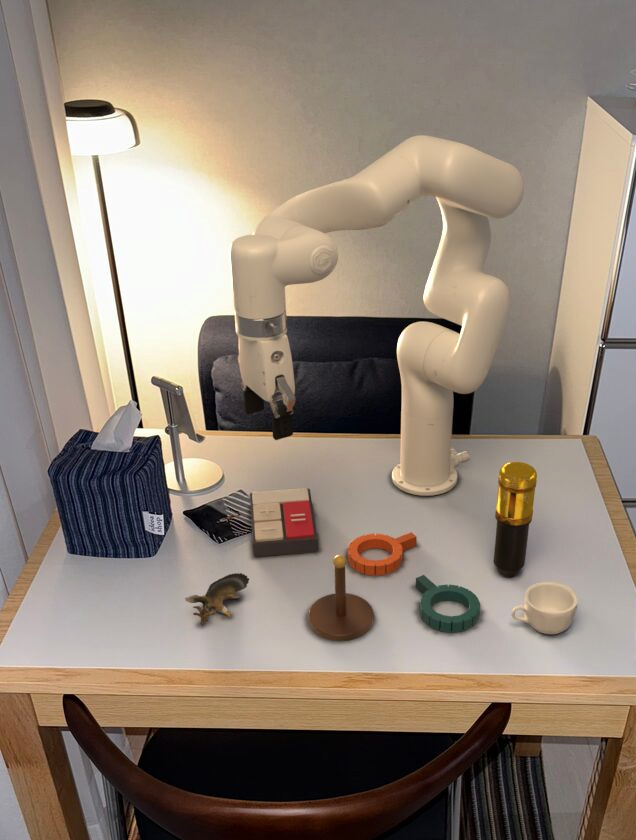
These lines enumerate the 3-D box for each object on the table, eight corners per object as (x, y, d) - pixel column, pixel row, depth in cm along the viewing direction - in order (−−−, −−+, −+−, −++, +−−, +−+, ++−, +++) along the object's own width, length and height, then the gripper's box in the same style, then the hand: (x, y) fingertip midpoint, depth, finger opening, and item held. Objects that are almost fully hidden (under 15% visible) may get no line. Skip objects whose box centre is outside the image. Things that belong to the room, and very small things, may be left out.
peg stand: (351, 590, 147) (350, 529, 140) (385, 625, 140) (386, 562, 133) (297, 613, 142) (293, 550, 136) (330, 650, 135) (328, 585, 129)
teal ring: (491, 618, 141) (492, 608, 140) (443, 640, 137) (444, 630, 136) (442, 576, 150) (442, 566, 149) (396, 595, 146) (396, 586, 145)
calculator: (252, 540, 152) (249, 488, 165) (254, 560, 155) (250, 507, 167) (317, 535, 154) (309, 484, 166) (318, 554, 156) (310, 503, 168)
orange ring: (367, 582, 149) (367, 572, 148) (338, 554, 155) (337, 544, 154) (429, 557, 154) (429, 547, 153) (398, 530, 161) (398, 521, 160)
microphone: (571, 570, 151) (586, 467, 140) (499, 586, 148) (509, 482, 137) (554, 550, 156) (568, 449, 145) (484, 565, 152) (493, 463, 142)
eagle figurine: (231, 631, 137) (260, 588, 143) (202, 598, 134) (232, 556, 140) (201, 636, 142) (230, 595, 148) (172, 604, 140) (203, 564, 145)
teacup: (562, 605, 143) (566, 578, 141) (581, 637, 137) (586, 610, 134) (501, 613, 142) (504, 586, 139) (518, 646, 135) (521, 619, 133)
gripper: (312, 336, 129) (316, 440, 138) (257, 298, 141) (265, 397, 150) (264, 348, 125) (272, 454, 134) (213, 308, 138) (223, 408, 147)
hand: (268, 424), depth 142 cm, fingers open, 9 cm apart
